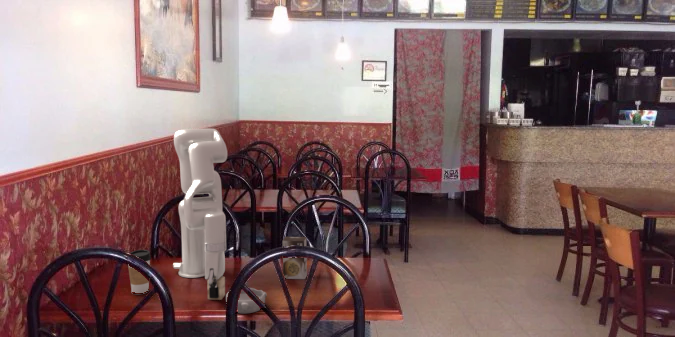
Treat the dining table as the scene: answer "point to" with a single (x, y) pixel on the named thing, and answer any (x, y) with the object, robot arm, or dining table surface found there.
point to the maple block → (221, 288)
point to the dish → (249, 301)
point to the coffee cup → (136, 278)
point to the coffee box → (295, 260)
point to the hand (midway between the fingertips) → (216, 294)
